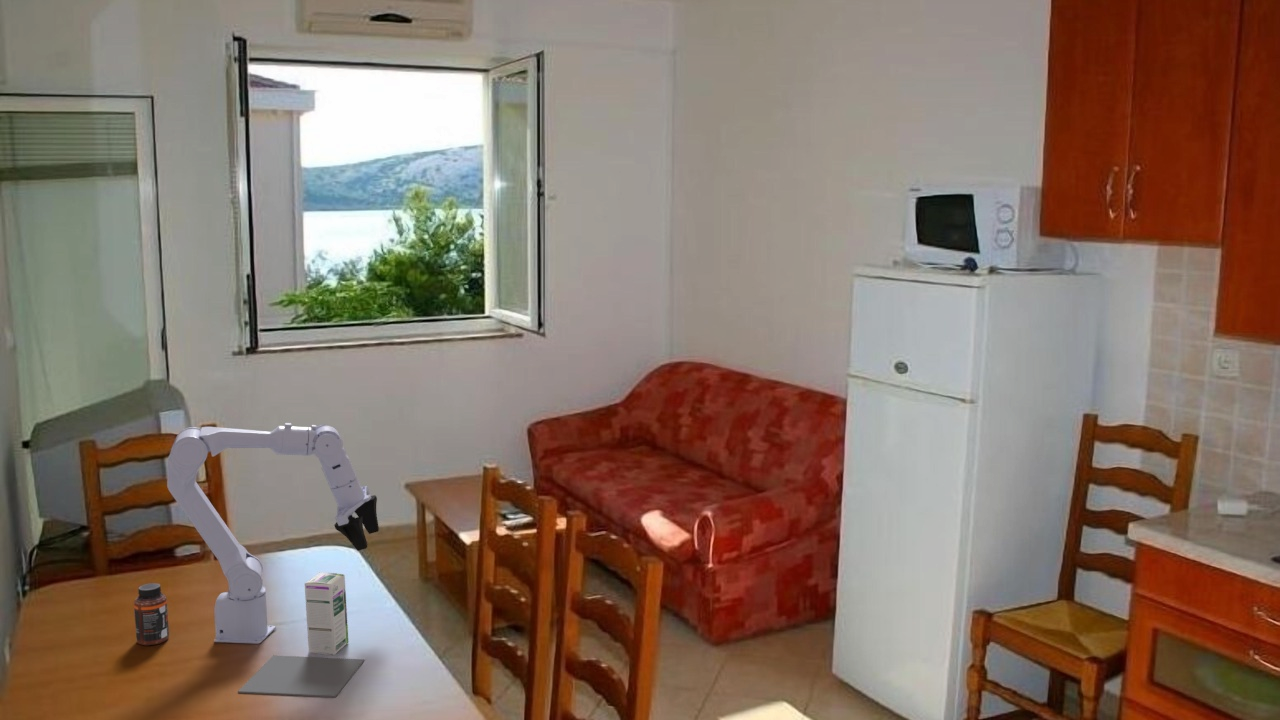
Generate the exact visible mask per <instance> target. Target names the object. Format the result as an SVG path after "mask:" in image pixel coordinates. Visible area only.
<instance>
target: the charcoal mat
mask: <svg viewBox="0 0 1280 720" xmlns="http://www.w3.org/2000/svg"><path fill="white" fill-rule="evenodd" d="M364 662H365V659H364V658H340V657H323V656H321V657H319V656H296V655H275V654H273V655H272V656H271V657H270V658H269V659H268V660H267V661H266V662H265V663H264V664H263V665H262V666H261V667H260V668H259V669H258V670H257V671H256V672H255V673H254V674H253V675H252V676H251V677H250V678H249V679H248V681H246V682H245V683H244V684H243V685H242V686H241V687H240V688H239V689H238V691H237V693H238V694H255V695H259V694H260V695H278V696H296V697H297V696H298V697H299V696H301V697H317V698H318V697H319V698H323V697H324V698H336V697H338V695H339V693H341V691H342V690H343V689H344V687H345V686H346V685H347V684H348V682H349V681H350V679H352V677H353V676H354V674H355V673H356V672H357V670H358V669H359V668H360V667H361V666H362V664H363V663H364Z"/></svg>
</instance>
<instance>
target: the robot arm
mask: <svg viewBox="0 0 1280 720" xmlns="http://www.w3.org/2000/svg"><path fill="white" fill-rule="evenodd" d="M343 444H344V443H343V440H342V438H341V435H340V433H339V431H338V430H337V429H336V428H335V427H333V426H331V425H327V424H320V425H316V424H311V427H310V426H296V425H295V426H293V425H292V423H291V422H285V423H284V425H277V427H275V428H274V429H273V430H271V431H265V430H254V429H242V428H229V427H220V426H219V427H218V426H202V427H201V428H199V427H193V426H191V427H186V428H184V429H182V430H181V431H179V433H178V434H177V435H176V438H175V439H174V441H173V444H172V446H171V449H170V452H169V455H168V457H167V482H166V483H167V484H166V486H167V489H168V491H169V492H170V494H171V496H172V498H174V500H175V501H176V502H177V504H178V506H179V507H180V509H182V512H184V514H185V516H186V517H187V518H188V519H189V521H190V523H191V524H192V526H194V528H195V529H196V531H197V533H198V534H199V535H200V537H201V538H202V539H203V541H204V542H205V544H206V545H207V546H208V548H209V550H211V552H212V553H213V555H214V557H215V558H216V559H217V560H218V563H219V566H220V567H221V571H222V572H223V575H224V576H225V577H226V579H227V583H228V591H226V592H225V591H224V592H221V593H220V594H219V595H218V596H217V598H216V600H215V604H214V610H213V611H214V627H215V629H214V630H215V638H214V642H215V643H230V644H231V643H233V644H255V645H259V644H261V643H263V641H264V640H265V639H266V638H267V637H268V636H269V635H270V634H272V632H273V631H275V629H277V628H276V625H268V608H267V606H268V605H267V592H266V591H267V589H266V586H263V585H264V584H263V571H264V569H263V564H262V563H263V562H261V560H260V559H259V558H258V557H257V556H255V555H252V554H251V553H250V552H249V551H248V550H247V548H246V547H245V546H243V545H242V544H240V542H239V541H238V540H237V538H236V537H235V535H234V534H233V533H232V531H231V530H230V528H229V527H228V525H227V524H226V522H225V521H224V520H223V518H222V517H221V515H220V514H219V512H218V511H217V510H216V508H215V507H214V506H213V504H212V503H211V501H210V500H209V498H208V497H207V495H206V494H205V492H204V490H202V488H201V487H200V486H199V484H198V483H197V480H196V479H197V476H198V472H199V470H200V469H201V467H202V466H203V465H204V463H205V462H206V460H207V457H208V454H209V453H211V457H215V456H217V455H218V454H221V452H223V451H225V450H227V449H271V450H272V451H273V452H274V454H275V455H280V456H306V457H307V456H308V457H309V456H312V455H314V456H315V457H316V458H318V460H319V462H320V464H321V470H322V473H323V475H324V477H325V480H326V482H327V485H328V486H329V489H330V491H331V493H332V496H333V497H334V500H335V503H336V504H337V506H336V507H337V508H336V515H335V521H336V522H335V524H334V528H335V530H336V531H338V532H339V533H341V534H342V535H344V536H345V538H346V539H348V541H349V542H350V543H351V544H352V546H353V547H354V548H355V549H356V550H357V551H363V550H366V549H368V541H367V538H366V535H365V531H364V529H365V530H366V532H367V533H368V534H369V535H371V534H373V533H377V532H379V530H380V527H379V520H378V515H377V504H378V503H377V501H378V497H377V495H376V494H375V495H371V491H370V489H369V487H368V485H366V486H362V485H361V483H360V480H359V478H358V476H357V473H356V471H355V468H354V467H353V464H352V461H351V460H350V457H349V455H348V454H347V451H346V449H345V448H344V445H343ZM353 514H356V515H357V517H355V516H353ZM363 526H364V527H363Z"/></svg>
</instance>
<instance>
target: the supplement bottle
mask: <svg viewBox="0 0 1280 720" xmlns="http://www.w3.org/2000/svg"><path fill="white" fill-rule="evenodd" d="M133 608H134V610H133V611H134V621H135V623H134V624H135V634H136V643H137V644H139V645H142V646H155V645H159V644H162V643H164V642H166V641H167V640H168V639H169V638H170V637H169V636H170V629H169V627H170V626H169V614H168V613H169V611H168V599H167V596H166V595H165V594H164V593H163V592H162V589H161V584H160V583H156V582H155V583H154V582H153V583H151V582H150V583H145V584H143V585H140V586H139V587H138V596H137V597H136V598H135V599H134V602H133Z"/></svg>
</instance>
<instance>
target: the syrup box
mask: <svg viewBox="0 0 1280 720" xmlns="http://www.w3.org/2000/svg"><path fill="white" fill-rule="evenodd" d="M346 591H347V590H346V577H345V574H342V573H337V572H336V573H335V572H319V573H317V575H315V576H314V577H312V578H310V579H309V580H307V581H306V582H304V595H305V596H304V597H305V598H304V599H305V611H306V626H307V645H308V652H309V653H312V654H313V653H314V654H320V653H323V654H322V655H332V654H333V655H336V654H337V653H338V652H339V651H340V650H342V649H343V648H344V647H345V646H346V645H347V644H348V643H349V629H348V628H349V627H348V626H349V625H348V612H347V610H348V608H347V594H346ZM333 655H332V656H333Z"/></svg>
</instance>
